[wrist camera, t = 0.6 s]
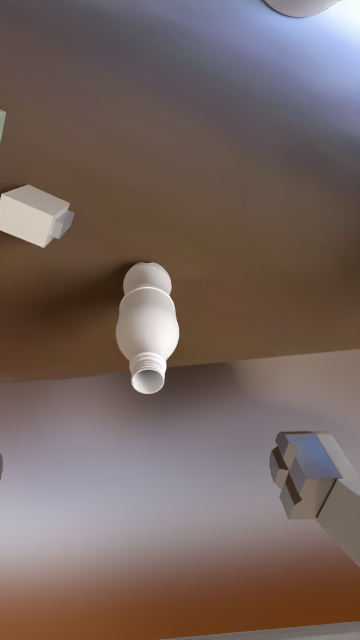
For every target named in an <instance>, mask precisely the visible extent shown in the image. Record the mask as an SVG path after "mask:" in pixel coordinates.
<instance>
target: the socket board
mask: <svg viewBox="0 0 360 640" xmlns="http://www.w3.org/2000/svg"><path fill="white" fill-rule="evenodd" d="M5 116H6V112H5V111H3V110H1V109H0V141H1V136H2V131H3V126H4V121H5Z"/></svg>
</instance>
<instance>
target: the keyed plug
mask: <svg viewBox="0 0 360 640" xmlns="http://www.w3.org/2000/svg"><path fill="white" fill-rule="evenodd" d="M69 204H70V203H68V202H66V201H64V200H61V199H59V198H57V197H55V196H53V195H50V194H48V193H46V192H44V191H41V190H39V189H37V188H35V187H32V186H30V185H25V186H23V187H20V188H17V189H14V190H11V191H9V192H6V193H3V194H1V198H0V230H1V231H3V232H6V233H8V234H11V235H13V236H16V237H18V238H21V239H23V240H26V241H28V242H31V243H33V244H36V245H38V246H41V247H43V248H44V247H45V246H46V245H47V244H48V243H49V242H50V241H51V240H52V239H53V238H54V237H55V238H57V239H59V238H60V237H61V236H62V235H63V234H64V233H65V232H66V231H67V229H68V228H69V227H70V226H71V223H72V220H73V217H74V214H75V213H73V212H71V211H69V210H68V207H69Z"/></svg>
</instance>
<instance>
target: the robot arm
mask: <svg viewBox="0 0 360 640" xmlns="http://www.w3.org/2000/svg"><path fill="white" fill-rule="evenodd" d="M265 1H266V2H267V3H268V4H269V5H270V6H271V7H272V8H274V9H275V10H276V11H278V12H280V13H282V14H285V15H288V16H292V17H307V16H312V15H315V14H318V13H320V12H322V11H324V10H326V9H328V8H329V7H331V6H332V5H334V4H335V3H336V2H338V1H339V0H265ZM275 441H276V444H277V447H276V448H274V449H273V450H272V451H271V455H270V471H271V476H272V478H273V481H274V483H275V484H276V485H277V486H278V487H279V488H281V489H282V491H281V494H280V499H281V502H282V504H283V507H284V509H285V512H286V515H287V517H288V519H317V520H316V521H317V522H318V523H319V524H320V525H321V526H322V527H323V529H324V530H326V532H327V533H328V534H329V535H330V536H331V537H332V538H333V539H334V540H335V541H336V542H337V543H338V544H339V546H340V547H341V548H342V549H343V550H344V551H345V552H346V553H347V554H348V555H349V556H350V557H351V558H352V559H353V561H354V562H355V563H356V564H357V565H358V566H359V567H360V478H359V476H358V475H357V474H356V472H355V470H354V469H353V467H352V466H351V464H350V463H349V461H348V460H347V458H346V457H345V455H344V454H343V452H342V450H341V449H340V447H339V446H338V444H337V443H336V441H335V440H334V438H333V437H332V435H331V434H330V433H328V432H327V431H311V432H309V431H297V432H280V433H278V434H277V437H276V440H275ZM2 469H3V459H2V455H1V454H0V479H1V474H2ZM161 640H360V621H359V622H348V623H337V624H326V625H315V626H304V627H293V628H282V629H271V630H261V631H249V632H238V633H227V634H216V635H205V636H194V637H183V638H172V639H161Z"/></svg>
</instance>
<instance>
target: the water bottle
mask: <svg viewBox="0 0 360 640" xmlns="http://www.w3.org/2000/svg"><path fill="white" fill-rule="evenodd" d="M123 290H124V294H125V295H124V297H123V299H122V301H121V303H120V308H119V310H120V314H119V321H118V323H117V326H116V339H117V343H118V346H119V348H120V350H121V351H122V353H123V354H124V355H125V357H126V358H127V359H128V360H129V361H130V371H131V374H132V378H131V380H132V385H133V387H134V388H135V389H136V390H137V391H139V392H141V393H144V394H149V393H150V394H151V393H154V392H157V391H158V390H160V389H161V388H162V386H163V384H164V373H165V370H166V360H167V359H168V358H169V356H170V355H171V354H172V353H173V351H174V350H175V348H176V346H177V342H178V339H179V327H178V323H177V321H176V315H175V307H174V304H173V301H172V299H171V298H170V296H169V294H170V292H171V281H170V278H169V275H168V273H167V272H166V271H165V269H164V268H163V267H161V266H160V265H158V264H156V263H153V262H152V263H151V262H150V263H144V262H140V263H138V264H136V265H134V266H133V267H131V268H130V269H129V271H128V272H127V274H126V276H125V278H124V282H123Z"/></svg>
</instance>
